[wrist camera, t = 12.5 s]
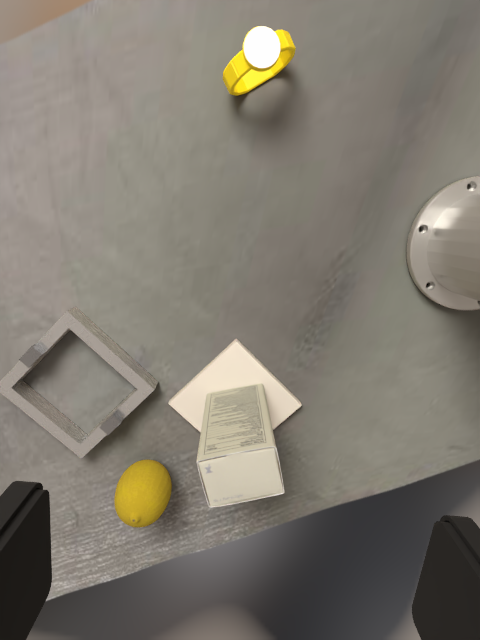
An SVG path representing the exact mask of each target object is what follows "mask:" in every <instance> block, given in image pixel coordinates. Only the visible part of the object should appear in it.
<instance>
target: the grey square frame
mask: <svg viewBox="0 0 480 640" xmlns="http://www.w3.org/2000/svg"><path fill="white" fill-rule="evenodd" d="M70 330H72V331H73V332H74V333H75V334H76V335H77V336H78V337H79V338H81V339H82V340H83V341H84V342H85V343H86V344H87V345H88V346H89V347H91V348H92V349H93V350H94V351H95V352H96V353H97V354H98V355H100V356H101V357H102V358H103V359H104V360H105V361H106V362H107V363H109V364H110V365H111V366H112V367H113V368H114V369H115V370H116V371H118V372H119V373H120V374H121V375H122V376H123V377H124V378H125V379H127V380H128V381H129V382H130V383H131V384H132V385H133V386H134V387H135V389H134V390H133V391H132V392H131V393H130V394H129V395H128V396H127V397H126V398H125V399H124V400H123V401H122V402H121V403H120V404H118V405H117V406H116V407H115V408H114V409H113V410H112V411H111V412H110V413H109V414H108V415H107V416H106V417H105V418H104V419H103V420H102V421H101V422H100V423H99V424H97V425H96V426H95V427H94V428H93V429H92V430H91V431H90V432H89V433H88V434H86V433H85V432H84V431H83V430H81V429H80V428H79V427H78V426H77V425H75V424H74V423H73V422H72V421H71V420H70V419H68V418H67V417H66V416H65V415H64V414H62V413H61V412H60V411H59V410H58V409H56V408H55V407H54V406H53V405H52V404H50V403H49V402H48V401H47V400H46V399H44V398H43V397H42V396H41V395H40V394H38V393H37V392H36V391H35V390H34V389H32V388H31V387H30V386H29V385H28V384H26V383H25V382H24V381H23V380H22V379H23V378H24V377H25V376H26V375H27V374H28V373H29V372H30V371H31V370H32V369H33V368H34V367H35V366H36V365H37V364H38V363H39V362H40V361H41V360H42V359H43V358H44V357H45V355H46V354H47V353H48V352H49V351H50V350H51V349H52V348H53V347H54V346H55V345H56V344H57V343H58V342H59V341H60V340H61V339H62V338H63V337H64V336H65V335H66V334H67V333H68V332H69V331H70ZM19 360H20V361H19V362H18V363H17V364H16V365H15V366H14V367H13V368H12V369H11V370H10V371H9V373H8V374H7V375H6V376H5V377H4V378H3V379H2V380H1V381H0V393H1V394H3V395H4V396H5V397H6V398H8V399H9V400H10V401H11V402H13V403H14V404H15V405H16V406H17V407H19V408H20V409H21V410H22V411H24V412H25V413H26V414H27V415H28V416H30V417H31V418H32V419H33V420H35V421H36V422H37V423H38V424H39V425H41V426H42V427H43V428H44V429H46V430H47V431H48V432H49V433H50V434H52V435H53V436H54V437H55V438H57V439H58V440H59V441H60V442H62V443H63V444H64V445H65V446H66V447H68V448H69V449H70V450H71V451H73V452H74V453H75V454H76V455H77V456H79V457H80V458H81V459H82V458H83V457H84V456H85V455H86V454H87V453H88V452H89V451H90V450H91V449H92V448H93V447H94V446H95V445H96V444H98V443H99V442H100V441H101V440H102V439H103V438H104V437H105V436H106V435H109V434H110V433H111V432H112V431H113V430H114V429H115V428H116V427H118V426H119V425H120V424H121V423H122V421H123V419H124V418H125V417H126V416H127V415H128V414H129V413H130V412H132V411H133V410H134V409H135V408H136V407H137V406H138V405H139V404H140V403H141V402H142V401H143V400H144V399H145V398H146V397H147V396H149V395H150V394H151V393H152V392H153V391H154V390H155V388H156V386H157V384H158V381H157V380H156V379H155V378H154V377H153V376H152V375H151V374H149V373H148V372H147V371H146V370H145V369H144V368H143V367H142V366H141V365H140V364H138V363H137V362H136V361H135V360H134V359H133V358H132V357H131V356H130V355H129V354H127V353H126V352H125V351H124V350H123V349H122V348H121V347H120V346H119V345H117V344H116V343H115V342H114V341H113V340H112V339H111V338H110V337H109V336H108V335H106V334H105V333H104V332H103V331H102V330H101V329H100V328H99V327H98V326H97V325H95V324H94V323H93V322H92V321H91V320H90V319H89V318H88V317H87V316H86V315H84V314H83V313H82V312H81V311H80V310H79V309H78V308H77V307H74V308H72V309H70V310H68V311H67V312H66V313H65V314H64V315H63V316H62V317H61V318H60V319H59V320H58V321H57V322H56V323H55V324H54V325H53V326H52V327H51V328H50V329H49V331H48V332H47V333H46V334H45V335H44V336H43V337H42V338H41V339H40V340H39V341H38V342H37V343H36V344H34V345H33V346H31V348H30V349H29V350H28V351H27V352H26V353H25V354H24V355H23V356H22V357H21V358H20V359H19Z"/></svg>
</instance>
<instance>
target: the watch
mask: <svg viewBox="0 0 480 640" xmlns="http://www.w3.org/2000/svg"><path fill="white" fill-rule="evenodd" d="M295 49H296V48H295V46H294V44H293V42H292V39H291V37H290V35H289V33H288V32H287V31H284V30H277V31H273V30H272V29H270V28H268V27H265V26H258V27H255V28H253V29H252V30H250V31H249V32H248V33H247V35H246V37H245V39H244V42H243V50H242V51H240V52H239V53H238V54H237V55H236V56H235V57H234V58H233V59H232V60H231V61H230V62H229V64H228V65H227V67H226V68H225V70H224V72H223V81H224V83H225V85H226V87H227V89H228V91H229V93H230V94H232V95H235V96H238V95H242V94H245V93H247V92H249V91H250V90H252V89H254V88H255V87H257V86H259V85H260V84H262V83H264V82H265V81H267V80H269V79H270V78H272V77H274V76H275V75H277V74H278V73H279V72H280V71H281V70H282V69H283V68H285V66H287V64H288V63H289V62H290V61H291V59H292V58H293V56H294V54H295Z"/></svg>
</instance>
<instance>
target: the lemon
mask: <svg viewBox="0 0 480 640" xmlns="http://www.w3.org/2000/svg"><path fill="white" fill-rule="evenodd" d="M171 488H172V484H171V478H170V475H169V473H168V471H167V469H166V468H165V467H164V466H163V465H162V464H161V463H159V462H157V461H154V460H141V461H138V462H136V463H134V464H132V465H131V466H130V467H129V468H128V469H127V470H126V471H125V472H124V473H123V475H122V476H121V478H120V480H119V482H118V484H117V488H116V492H115V509H116V512H117V514H118V516H119V518H120V519H121V520H122V521H123V522H124V523H125V524H127V525H129V526H132V527H145V526H148V525H150V524H152V523H153V522H155V521H156V520H157V519H158V518H159V517H160V516H161V515H162V513H163V512H164V510H165V509H166V507H167V504H168V502H169V500H170V496H171Z"/></svg>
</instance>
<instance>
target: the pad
mask: <svg viewBox="0 0 480 640" xmlns="http://www.w3.org/2000/svg"><path fill="white" fill-rule="evenodd" d="M260 383H261V384H263V386H264V390H265V395H266V400H267V404H268V409H269V414H270V419H271V424H272V428H273V430H274V429H275V428H276V427H277V426H278V425H279V424H281V423H282V422H283V421H284V420H285V419H286V418H288V417H289V416H290V415H291V414H292V413H293V412H295V411H296V410H297V409H298V408H299V407H301V406H302V404H301V402H300V401H299V400H298V399H297V398H296V397H295V396H294V395H293V394H292V393H291V392H290V391H289V390H288V389H287V388H286V387H285V386H284V385H283V384H282V383H281V382H280V381H279V380H278V379H277V378H276V377H275V376H274V375H273V374H272V373H271V372H270V371H269V370H268V369H267V368H266V367H265V366H264V365H263V364H262V363H261V362H260V361H259V360H258V359H257V358H256V357H255V356H254V355H253V354H252V353H251V352H250V351H249V350H248V349H247V348H246V347H244V346H243V345H242V344H241V343H240V342H239V341H238V340H237V339H235V340H234V341H233V342H232V343H231V344H230V345H229V346H228V347H227V348H226V349H224V350H223V351H222V352H221V353H220V354H219V355H218V356H217V357H216V358H215V359H214V360H213V361H212V362H210V363H209V364H208V365H207V366H206V367H205V368H204V369H203V370H202V371H201V372H200V373H199V374H197V375H196V376H195V377H194V378H193V379H192V380H191V381H190V382H189V383H188V384H187V385H186V386H184V387H183V388H182V389H181V390H180V391H179V392H178V393H177V394H176V395H175V396H174V397H173V398H172V399H170V401H169V403H168V404H169V405H171V406H172V407H173V408H174V409H175V410H176V411H177V412H178V413H179V414H181V415H182V416H183V417H184V418H185V419H186V420H187V421H188V422H189V423H191V424H192V425H193V426H194V427H195V428H196V429H197V430H198V431H199V432H201V429H202V422H203V415H204V409H205V402H206V395H207V394H208V393H213V392H217V391H222V390H227V389H232V388H238V387H243V386H248V385H254V384H260Z"/></svg>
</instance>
